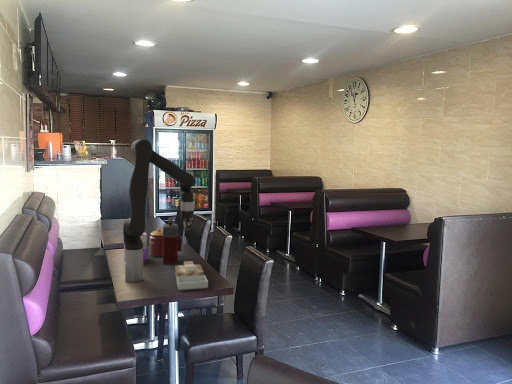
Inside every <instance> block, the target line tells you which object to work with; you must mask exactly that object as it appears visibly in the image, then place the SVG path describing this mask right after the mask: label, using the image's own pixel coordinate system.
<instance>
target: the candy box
mask: <svg viewBox="0 0 512 384" xmlns="http://www.w3.org/2000/svg"><path fill="white" fill-rule="evenodd" d="M140 237H141V240H142V242H143V261H146V260H148V234H147V232H144V233H143V234H142V235H141V236H140ZM123 259H124V262H125V244H124V243H123Z"/></svg>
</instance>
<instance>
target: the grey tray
mask: <svg viewBox="0 0 512 384" xmlns="http://www.w3.org/2000/svg"><path fill="white" fill-rule="evenodd" d="M176 286H177V291H185V290H186V291H188V290H200V289H208V288H209V280H208V279H207V276H206V274H204V275H195V276H179V277H177V279H176Z"/></svg>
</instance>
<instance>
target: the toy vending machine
mask: <svg viewBox="0 0 512 384" xmlns="http://www.w3.org/2000/svg"><path fill="white" fill-rule="evenodd" d="M167 219H168V221H167V222H168V223H164V224H162V230H163V256H162V264H163V265H177V264H179V252H182V238H181V234H180V233H179V225H178V224H177V223H173V217H167Z"/></svg>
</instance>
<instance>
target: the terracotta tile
mask: <svg viewBox="0 0 512 384" xmlns="http://www.w3.org/2000/svg"><path fill="white" fill-rule="evenodd" d="M185 264H194V261H193V260H192V261H191V260H190V261H188V260H187V261H183V265H184V268H185ZM194 265H195V264H194Z"/></svg>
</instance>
